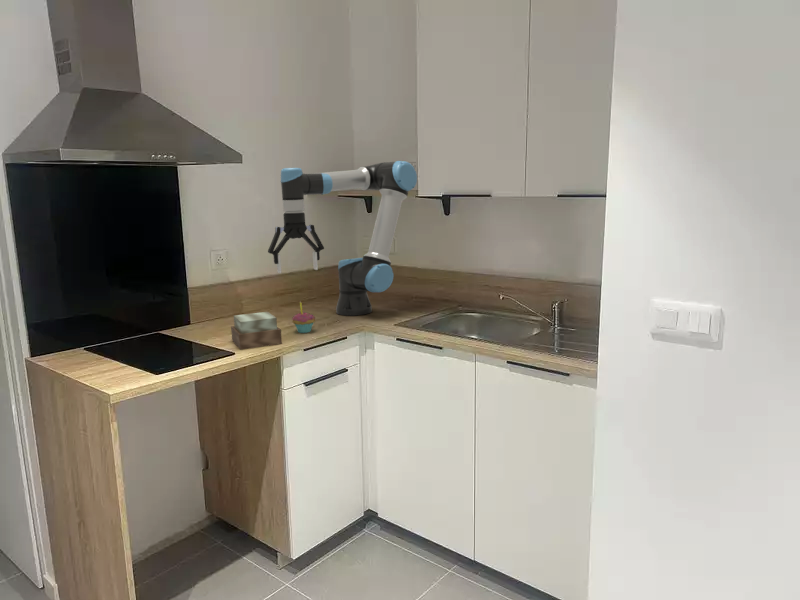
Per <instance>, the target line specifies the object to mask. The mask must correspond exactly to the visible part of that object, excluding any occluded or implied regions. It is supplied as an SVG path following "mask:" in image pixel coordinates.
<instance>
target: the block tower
mask: <svg viewBox="0 0 800 600" xmlns="http://www.w3.org/2000/svg"><path fill="white" fill-rule="evenodd" d="M233 323H234V325H233V326H230V328H231V331H230V332H231V340H233V341H232V342H233V343H234V344H235V345H236V346H237V348H240V349H239V350H247V349H254V348H259V347H267V346H268V345H269V346H274V345H275V346H276V345H281V344H283V343H282V342H283V341H282V339H283V338H282V329H281V328H279V326H278V321H277V317H276V316H275V315H274V314H272V313H270V312H269V311H263V312H256V313H255V312H254V313H246V314H245V313H243V314H237V315H233Z"/></svg>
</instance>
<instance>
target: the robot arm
mask: <svg viewBox="0 0 800 600" xmlns="http://www.w3.org/2000/svg"><path fill="white" fill-rule="evenodd" d="M417 181H418V174H417V171H416V170H415V167H414V166H413V164H411V163H410V162H409V161H403V160H396V161H389V162H387V161H386V162H384V161H383V162H380V163H375V164H370V165H367V166H360V167H358V168H357V169H351V170H339V171H337V170H336V171H325V172H313V173H303V170H302V168H300V167H284V168H282V169H281V171H280V185H281V197H282V211H283V212H284V213H283V215H282V216H283V226H282V227H280V226H275V228H274V229H275V230H274V232H275V233H274V234H273V237H272V240H271V242H270V244H269V246H268V250H267V253H268V254H270V255H273V264H274V265H276V269H277V273H278V274H282V259H281V254H279V253H280V252H281V250H283V247H285V245H286V244H287V242H288V241H290V239H292V240H293V239H303V240H305V242H306V243H307V244H308V245H309V247H311V249H313V251H312V262H313V265H312V266H313V270H315V271H318V269H319V267H318V265H319V264H318V261H320V259H321V257H320V252H321V251H322V250H324V249H325V246H324V245H323V243H322V241H321V239H320V237H319V235H318V234H317V232H316V228H315V225H313V224H309V225H306V215H305V212H304V211H305V198H304V196H306V195H308V196H309V195H311V196H312V195H313V196H315V195H316V196H317V195H327V194H330V193H331V192H335V191H346V190H347V191H348V190H355V189H356V190H357V189H360V190H362V191H379V193H380V195H381V198H380V203H379V206H378V211H377V215H376V218H375V221H374V222H375V223H374V227H373V230H372V231H373V232H372V235H371V239H370V243H369V248H368V250H367V252H366V253H365V254H364V255H363V256H362V257H356V258H355V257H353V258H348V259H346V258H345V259H341V260H339V261H338V264H337V265H338V268H337V270H338V286H339V296H338V300H337V304H336V307H335V310H336V311H335V312H336V314H337V315H340V316H363V315H367V314H370V313H372V311H373V310H372V307H373V306H372V304H371V301H370V299H369V295H368V292H370V293H382V292H385V291H386V290H388V289H389V288H390V286H391V285H392V283H393V282H394V281H393V280H394V278H395V277H394V271H393V268H392V266H391V264H392V261H391V259H390V254H391V253H390V252H391V249H392V245H393V241H394V236H395V234H396V233H395V232H396V228H397V225H398V219H399V216H400V212H401V209H402V208H401V207H402V204H403V201H404V200H406V199H407V198H408V194H409V191H411V190H413V189H414V188H415V187H416V185H417ZM306 231H308V232H310V234H311V237H312V238H313V240H314V242H315V243H314V242H313V240H311V238H309V236H308V235H307V234H306ZM283 232H284V233H285V234H284V236H283V237H282V239H281V241H280V242H279V243H278V241H279V239H280V235H281V233H283ZM277 243H278V245H277Z"/></svg>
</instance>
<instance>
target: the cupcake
mask: <svg viewBox="0 0 800 600" xmlns="http://www.w3.org/2000/svg"><path fill="white" fill-rule="evenodd" d="M302 305H303V304H302V302H301V300H299V308H300V312H299V313H296V314H294V315H293V317H292V319H291V321H292V323H293V324H294V325H295V328H296V331H297V332H298V333H300V334H307V333H310V332H312V328H313V325H314V323H315V322H316V317H315V315H314V314H312V313H309V312H305V311H304V312H303V306H302Z"/></svg>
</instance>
